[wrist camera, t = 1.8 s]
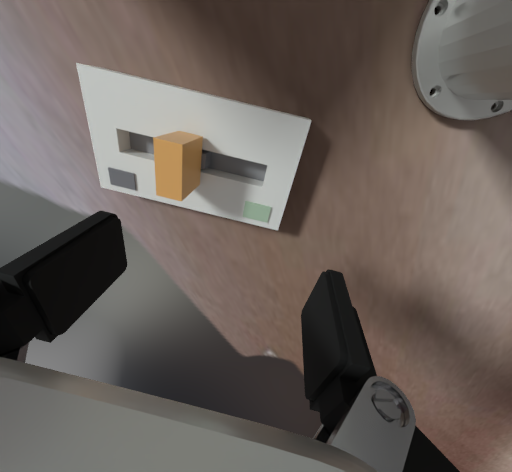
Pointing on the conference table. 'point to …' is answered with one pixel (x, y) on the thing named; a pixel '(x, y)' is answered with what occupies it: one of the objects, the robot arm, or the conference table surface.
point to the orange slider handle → (178, 164)
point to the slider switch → (214, 139)
